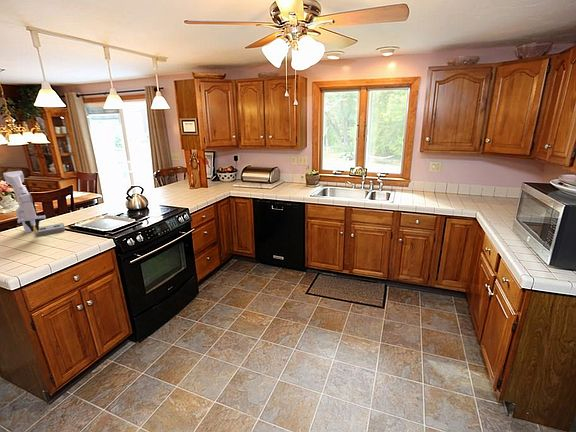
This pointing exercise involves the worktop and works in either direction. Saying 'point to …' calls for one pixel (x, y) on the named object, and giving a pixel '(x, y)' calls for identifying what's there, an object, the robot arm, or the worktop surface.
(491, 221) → the worktop surface
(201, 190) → the worktop surface
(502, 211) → the worktop surface
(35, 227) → the brass pin
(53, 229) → the bore block
